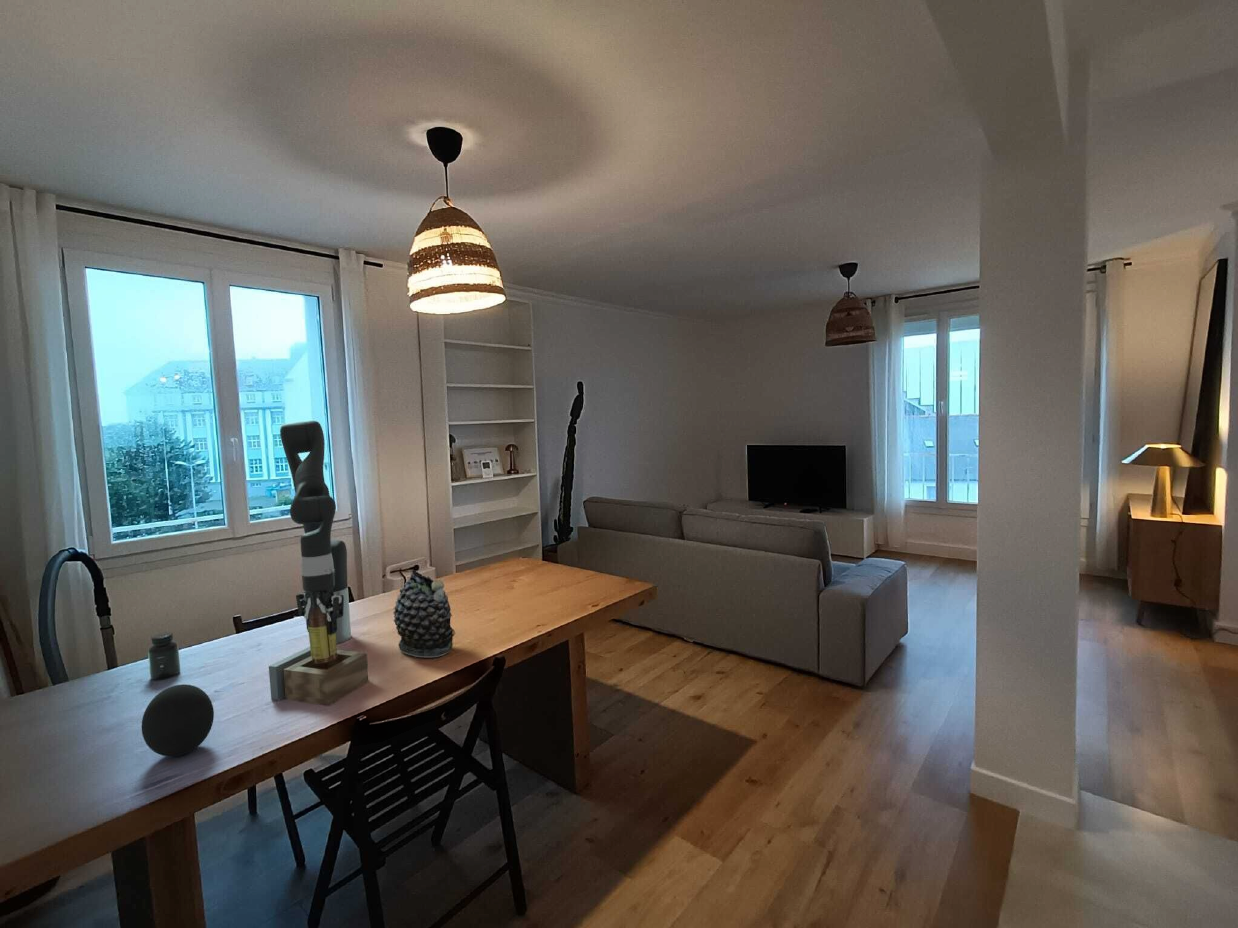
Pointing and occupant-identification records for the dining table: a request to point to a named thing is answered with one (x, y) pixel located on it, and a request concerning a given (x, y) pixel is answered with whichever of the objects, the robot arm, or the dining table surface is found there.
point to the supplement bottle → (163, 657)
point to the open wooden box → (326, 678)
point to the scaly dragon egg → (423, 617)
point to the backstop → (278, 672)
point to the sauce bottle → (320, 633)
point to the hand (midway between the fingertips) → (322, 632)
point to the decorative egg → (177, 720)
